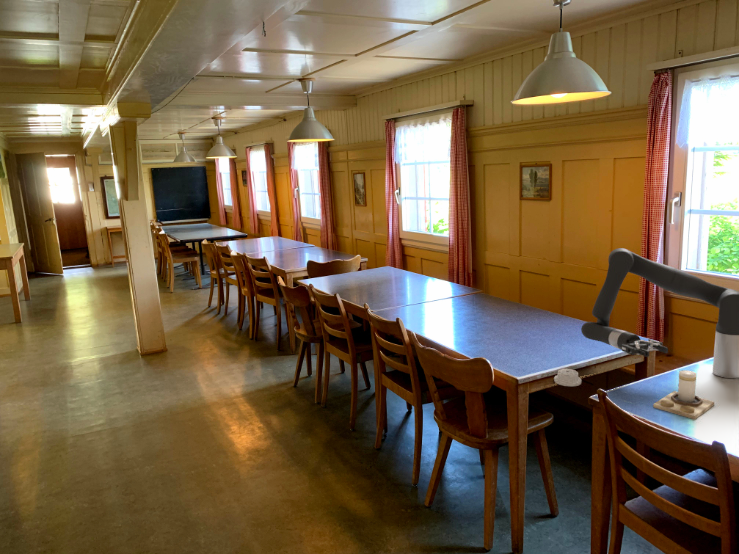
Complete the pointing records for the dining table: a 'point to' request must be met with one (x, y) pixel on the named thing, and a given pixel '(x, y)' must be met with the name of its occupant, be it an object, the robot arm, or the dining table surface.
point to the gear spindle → (687, 386)
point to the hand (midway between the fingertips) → (658, 352)
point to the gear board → (683, 405)
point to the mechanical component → (567, 377)
